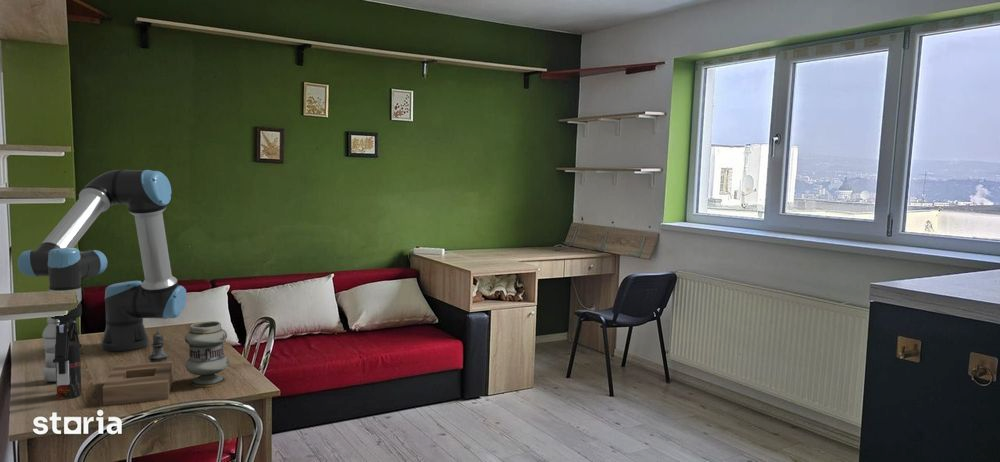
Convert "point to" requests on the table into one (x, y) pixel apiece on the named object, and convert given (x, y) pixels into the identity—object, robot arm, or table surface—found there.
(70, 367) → the deodorant
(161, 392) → the holder block
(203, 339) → the apothecary jar
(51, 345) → the plastic bottle
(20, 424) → the table surface
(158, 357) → the salt shaker
